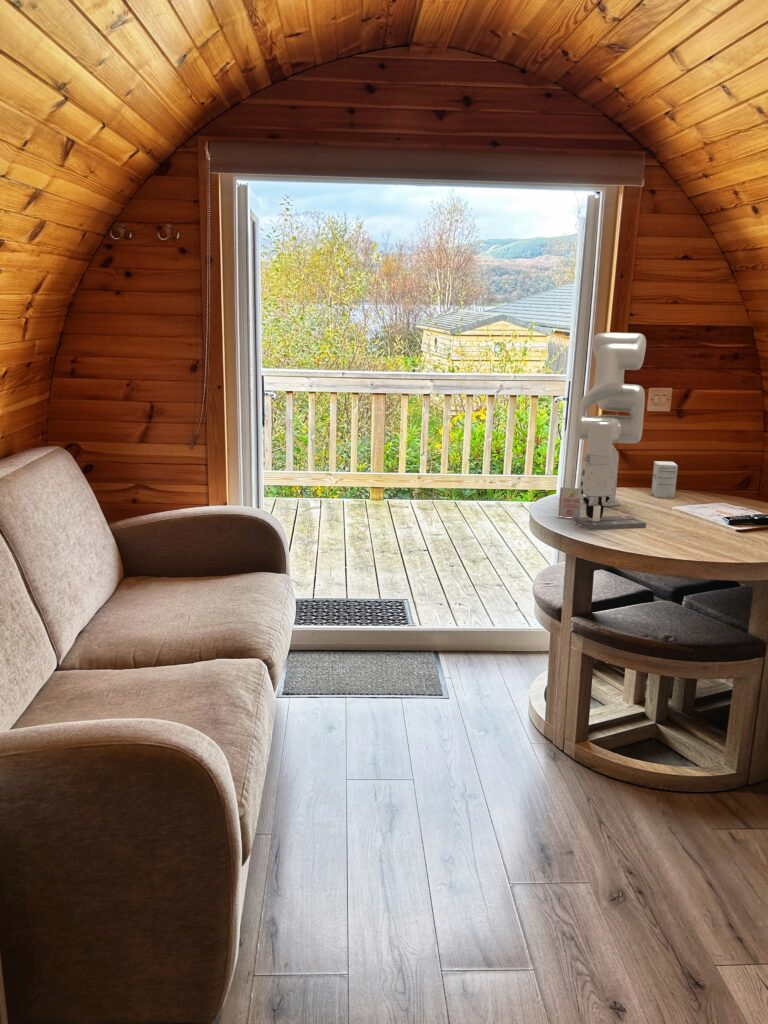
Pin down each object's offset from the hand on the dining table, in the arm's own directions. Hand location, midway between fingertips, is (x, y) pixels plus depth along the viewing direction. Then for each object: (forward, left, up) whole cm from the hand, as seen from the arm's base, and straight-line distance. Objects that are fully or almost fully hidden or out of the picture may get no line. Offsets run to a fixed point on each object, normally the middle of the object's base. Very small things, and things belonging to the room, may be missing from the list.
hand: (594, 516), depth 256 cm
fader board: (0, +6, -3) cm, 6 cm away
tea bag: (-12, -3, -3) cm, 12 cm away
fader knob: (0, 0, -1) cm, 1 cm away
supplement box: (-38, +47, -3) cm, 60 cm away
